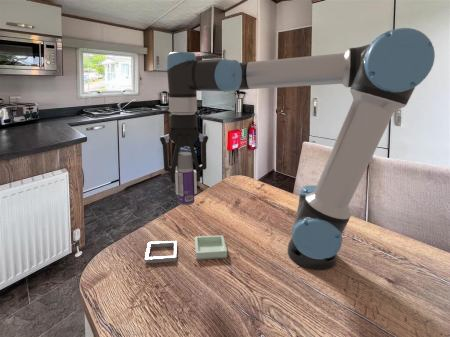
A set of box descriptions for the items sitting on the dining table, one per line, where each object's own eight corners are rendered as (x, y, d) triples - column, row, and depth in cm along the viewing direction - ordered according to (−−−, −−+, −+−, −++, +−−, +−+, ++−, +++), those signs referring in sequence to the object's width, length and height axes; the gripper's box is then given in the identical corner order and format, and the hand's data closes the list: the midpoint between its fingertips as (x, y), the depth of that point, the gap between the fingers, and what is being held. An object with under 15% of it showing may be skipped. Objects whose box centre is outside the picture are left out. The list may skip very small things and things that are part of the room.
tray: (222, 241, 97) (222, 235, 96) (226, 258, 88) (227, 251, 87) (194, 243, 96) (194, 236, 95) (196, 260, 87) (196, 252, 86)
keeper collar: (176, 244, 94) (176, 240, 94) (176, 261, 86) (176, 257, 85) (148, 246, 93) (148, 242, 92) (145, 263, 84) (144, 259, 84)
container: (195, 199, 87) (194, 152, 83) (192, 205, 83) (191, 155, 78) (180, 198, 87) (178, 151, 83) (177, 205, 83) (174, 155, 79)
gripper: (213, 111, 82) (214, 186, 89) (151, 112, 80) (156, 189, 86) (217, 114, 75) (217, 195, 82) (149, 114, 73) (155, 199, 79)
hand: (186, 192), depth 84 cm, fingers closed on container, 5 cm apart
